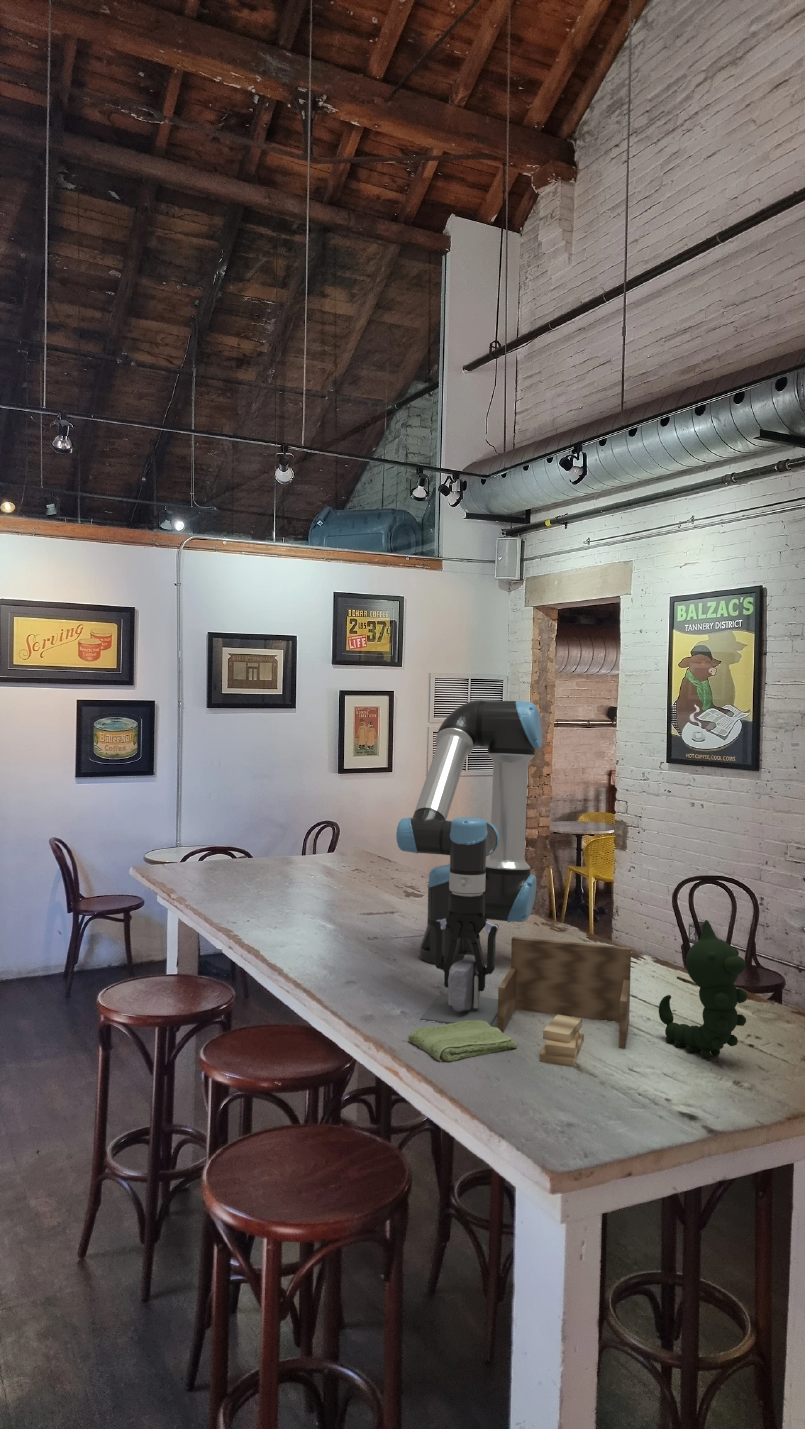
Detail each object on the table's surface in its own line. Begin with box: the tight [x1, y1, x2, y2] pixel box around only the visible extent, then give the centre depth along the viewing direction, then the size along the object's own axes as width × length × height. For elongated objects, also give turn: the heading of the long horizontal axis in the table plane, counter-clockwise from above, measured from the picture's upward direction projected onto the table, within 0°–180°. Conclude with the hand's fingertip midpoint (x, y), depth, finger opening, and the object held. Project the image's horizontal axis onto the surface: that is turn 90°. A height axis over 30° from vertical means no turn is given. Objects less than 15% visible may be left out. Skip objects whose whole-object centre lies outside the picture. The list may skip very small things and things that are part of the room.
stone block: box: [447, 955, 478, 1012], centre depth 194 cm, size 12×5×10 cm, turn 156°
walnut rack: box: [496, 936, 632, 1050], centre depth 187 cm, size 24×16×15 cm, turn 74°
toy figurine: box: [658, 919, 748, 1059], centre depth 175 cm, size 9×19×25 cm, turn 31°
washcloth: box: [407, 1020, 518, 1063], centre depth 175 cm, size 13×18×3 cm
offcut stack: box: [539, 1014, 585, 1067], centre depth 174 cm, size 14×6×5 cm, turn 162°
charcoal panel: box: [419, 992, 498, 1026], centre depth 194 cm, size 14×18×1 cm
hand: (464, 1004), depth 194 cm, fingers open, 5 cm apart
